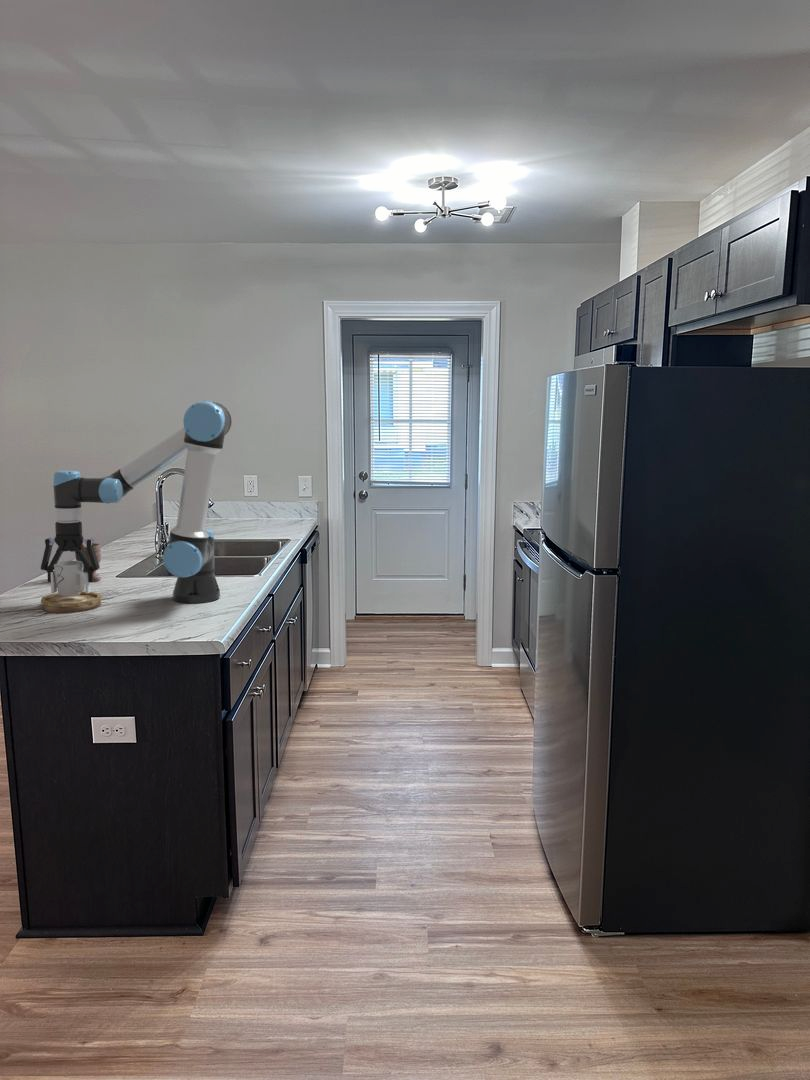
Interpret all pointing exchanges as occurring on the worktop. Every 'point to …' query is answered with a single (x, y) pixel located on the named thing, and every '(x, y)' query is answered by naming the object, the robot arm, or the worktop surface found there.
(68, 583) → the mug
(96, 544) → the mortar and pestle
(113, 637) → the worktop surface
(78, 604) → the round wooden tray
